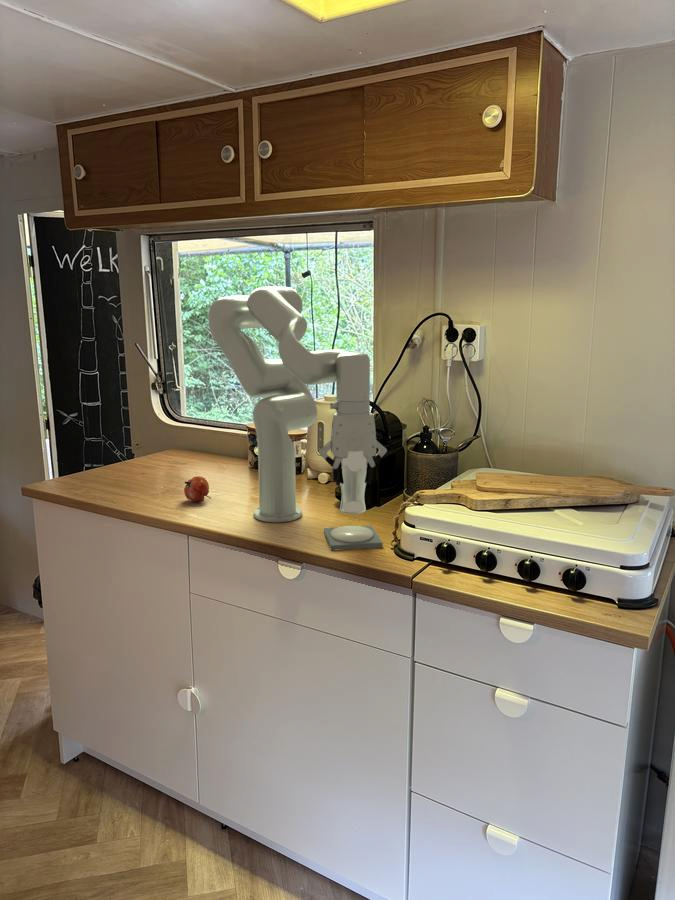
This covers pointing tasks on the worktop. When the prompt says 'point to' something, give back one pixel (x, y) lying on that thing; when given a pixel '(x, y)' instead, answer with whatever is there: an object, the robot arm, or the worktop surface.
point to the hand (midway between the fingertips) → (353, 482)
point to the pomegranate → (196, 489)
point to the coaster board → (352, 537)
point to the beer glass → (353, 482)
